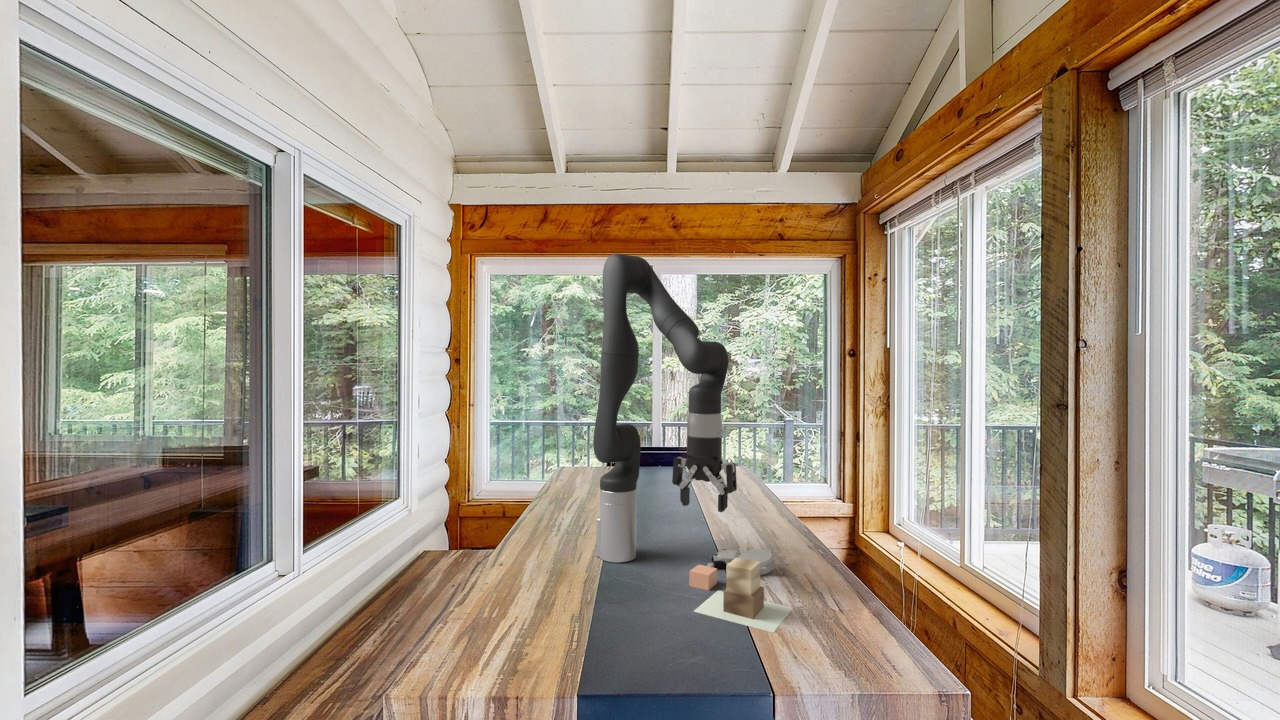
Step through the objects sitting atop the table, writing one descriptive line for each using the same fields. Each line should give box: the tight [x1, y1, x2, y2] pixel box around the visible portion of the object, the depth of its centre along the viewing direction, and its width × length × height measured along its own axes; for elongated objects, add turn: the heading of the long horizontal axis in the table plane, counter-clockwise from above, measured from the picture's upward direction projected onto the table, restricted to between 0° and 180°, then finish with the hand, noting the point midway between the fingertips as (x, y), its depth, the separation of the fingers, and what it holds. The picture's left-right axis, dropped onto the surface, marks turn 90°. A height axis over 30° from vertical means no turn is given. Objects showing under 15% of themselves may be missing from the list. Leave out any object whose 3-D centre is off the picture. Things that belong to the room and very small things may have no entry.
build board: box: [693, 589, 794, 634], centre depth 113 cm, size 16×12×1 cm
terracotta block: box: [688, 564, 718, 591], centre depth 125 cm, size 4×4×4 cm
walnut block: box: [723, 585, 765, 619], centre depth 113 cm, size 6×6×4 cm
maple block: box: [725, 557, 761, 596], centre depth 113 cm, size 5×5×5 cm
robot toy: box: [706, 548, 777, 577], centre depth 136 cm, size 12×4×15 cm
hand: (703, 508), depth 125 cm, fingers open, 8 cm apart
